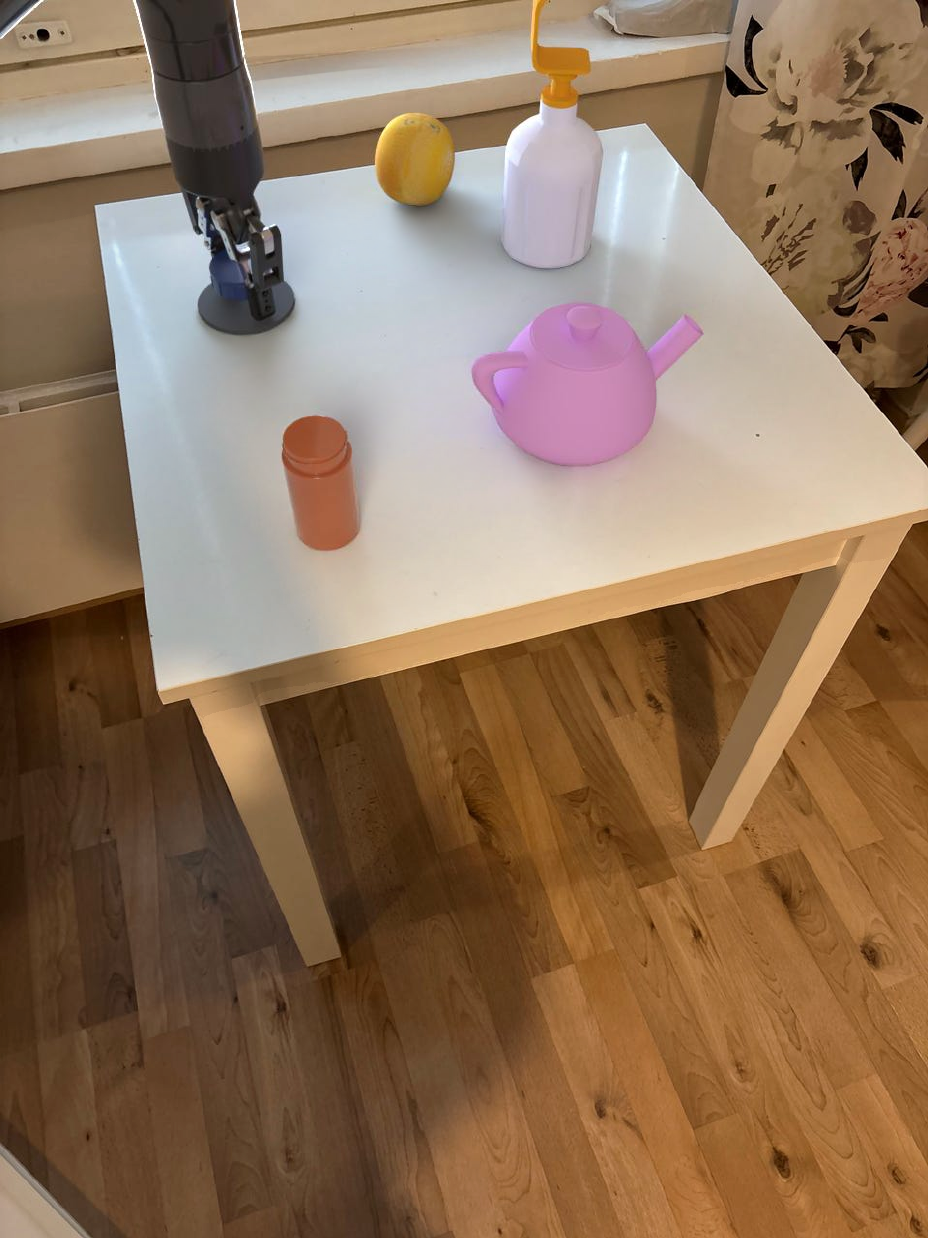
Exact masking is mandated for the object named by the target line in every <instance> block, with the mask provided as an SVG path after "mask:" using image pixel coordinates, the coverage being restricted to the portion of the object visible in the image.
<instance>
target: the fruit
mask: <svg viewBox="0 0 928 1238" xmlns="http://www.w3.org/2000/svg"><path fill="white" fill-rule="evenodd" d="M455 158H456V156H455V145H454V141H453V138H452V135H451V133H450V131H449V129H448V128H447V126H445V124H443V122H442V121H440V120H439V119H437V118H436V117H434V116H432V115H428V114H426V113H420V112H407V113H404V114H401V115H398V116H396V117H395V118H393V119H391V121H389V123H388V124H387V125H386V126H385V127H384V128H383V131H382V132H381V134H380V136H379V138H378V141H377V144H376V149H375V157H374V168H375V169H374V170H375V175H376V178H377V181H378V184H379V187H380V188H381V189H382V191H383V192H384V193H385V195H386V196H388V197H389V198H390V199H391V200H393V201H395V202H398V203H401V204H404V205H408V206H409V205H410V206H417V207H419V206H420V207H422V206H427V205H431V204H433V203H434V202H435V201H437V200H438V199H440V197H441V196H442V195H443V194H444V193H445V191H446V190H447V188H448V186H449V184H450V182H451V180H452V178H453V173H454V169H455V161H456V160H455Z"/></svg>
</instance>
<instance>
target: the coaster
mask: <svg viewBox="0 0 928 1238" xmlns="http://www.w3.org/2000/svg"><path fill="white" fill-rule="evenodd" d="M272 292H273V297H274V303H275V309H276V311H275V313H274V314H273V315H272V316H269V317H267V318H265V319H263V320H260V321H257V320H256V319H254V318H253V317H252V315H251V311H250V306H249V301H248V300H243V301H237V300H230V299H226V298H224V297H222V296H220V295H219V294H218V293H217V292H216V291H215V290H214V288H213V287H212V283H211V282H210V283H209V284H207V286H206V287H204V289H203V290H202V291H201V293H200V294H199V298H198V300H197V309H198V310H197V311H198V313H199V316H200V318H201V320H202V321H203V322H204V323H205V324H206V326H208V327H210V328H211V329H213V330H215V331H216V332H220V333H223V334H227V335H233V336H250V335H256V334H261V333H264V332H267V331H270V330H272V329H274V328H276V327H278V326H280V325H281V324H283V323H284V322H285V321H287V319H288V318H289V317H290V316H291V315H292V312H293V311H294V308H295V304H296V303H295V302H296V299H295V293H294V291H293V289H292V287H291V286H290V284H289V283H288V282H287V281H285V280H284V282H283V283H281V284H278V285H276V286H274V287H272Z"/></svg>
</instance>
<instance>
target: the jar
mask: <svg viewBox="0 0 928 1238" xmlns="http://www.w3.org/2000/svg"><path fill="white" fill-rule="evenodd" d="M348 439H349V437H348V431H347V430H345V428H344V427H343V425H342V424H341V423H340V422H339V421H338V420H336V419H334V418H332V417H330V416H327V415H322V414H311V415H307V416H303V417H299V418H298V419H296V420H294V421H293V422H291V423H290V424H289V425H288V426H287V427H286V429H285V430H284V432H283V435H282V444H281V446H282V450H281V462H282V467H283V471H284V476H285V481H286V486H287V490H288V491H287V493H288V497H289V502H290V508H291V513H292V517H293V521H294V527H295V532H296V535H297V538H298V539H299V540H300V541H301V542H302V543H303V544H304V545H305V546H307V547H309V548H311V549H314V550H316V551H324V552H325V551H327V552H328V551H329V552H330V551H335V550H338V549H342V548H344V547H346V546H348V545H349V544H350V543H352V542H353V541H354V540H355V539H356V537H357V536H358V534H359V532H360V529H361V520H360V519H361V518H360V510H359V501H358V492H357V483H356V476H355V475H356V473H355V467H354V457H353V449H352V445H351V443H350V441H349V440H348Z"/></svg>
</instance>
